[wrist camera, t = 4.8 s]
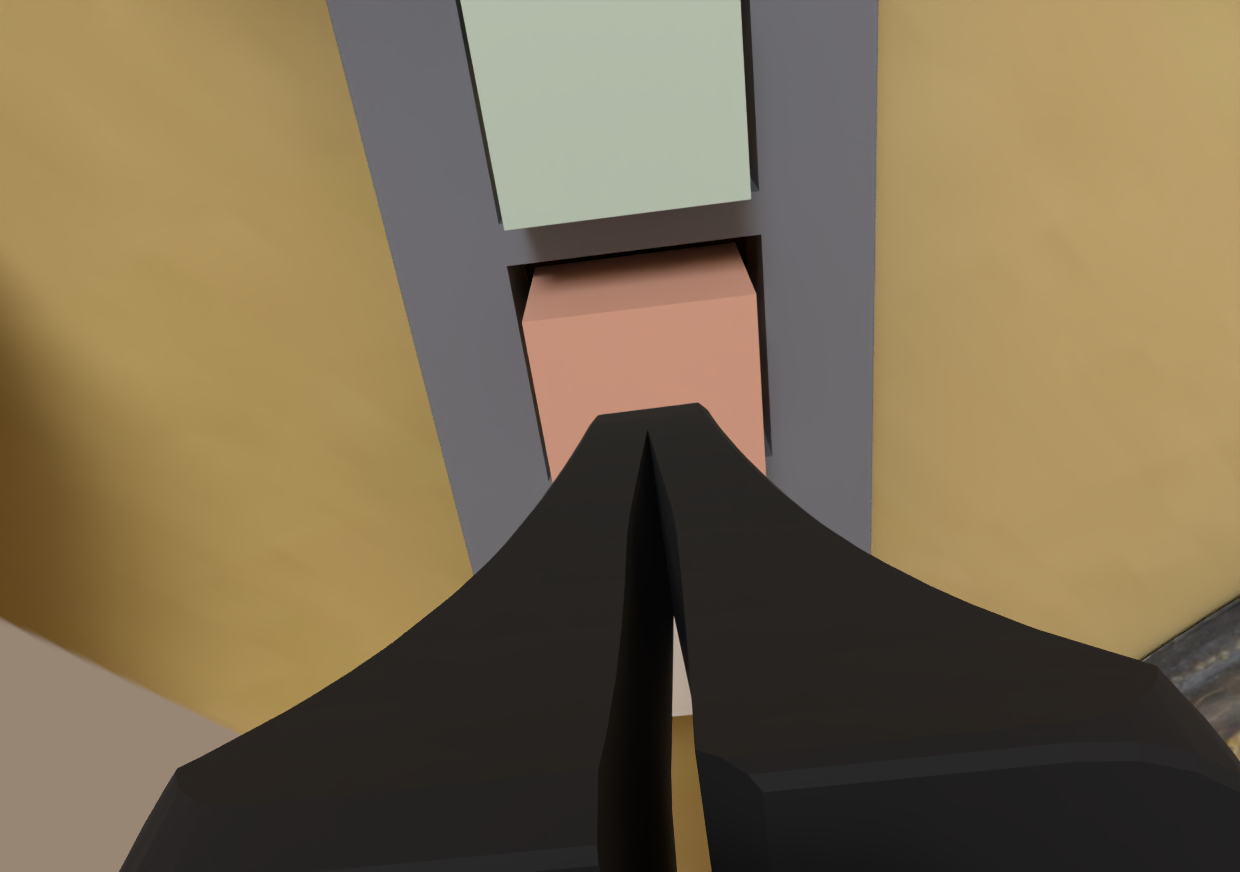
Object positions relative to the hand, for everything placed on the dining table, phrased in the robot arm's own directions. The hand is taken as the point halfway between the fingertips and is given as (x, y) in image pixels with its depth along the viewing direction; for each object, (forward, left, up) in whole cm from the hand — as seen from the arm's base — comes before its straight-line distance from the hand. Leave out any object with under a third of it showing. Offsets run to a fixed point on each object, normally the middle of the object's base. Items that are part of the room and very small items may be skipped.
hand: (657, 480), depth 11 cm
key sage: (0, +4, -8) cm, 9 cm away
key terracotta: (0, -2, -8) cm, 8 cm away
